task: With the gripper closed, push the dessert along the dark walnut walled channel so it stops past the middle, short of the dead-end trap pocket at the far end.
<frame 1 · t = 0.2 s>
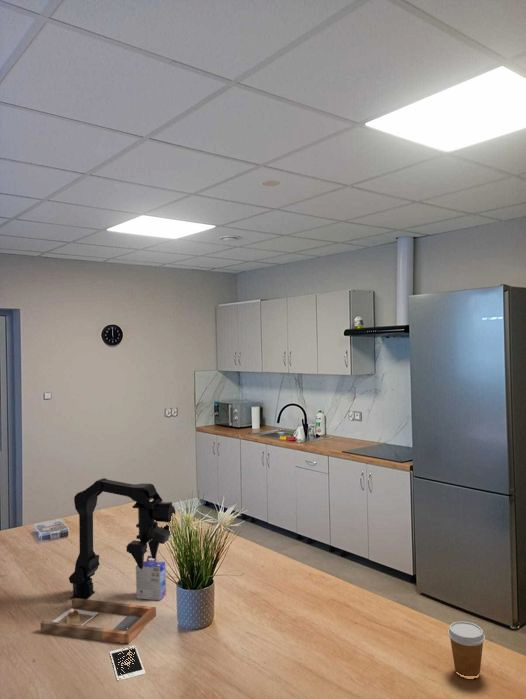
hand: (147, 563, 194), 14 cm above the table, tool pointing down, fingers open, 9 cm apart
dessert: (73, 622, 184), on the table
ink cartridge box: (151, 597, 200), on the table
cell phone: (126, 664, 158), on the table
disposable coffee cup: (467, 673, 148), on the table
walled channel: (99, 623, 181), on the table
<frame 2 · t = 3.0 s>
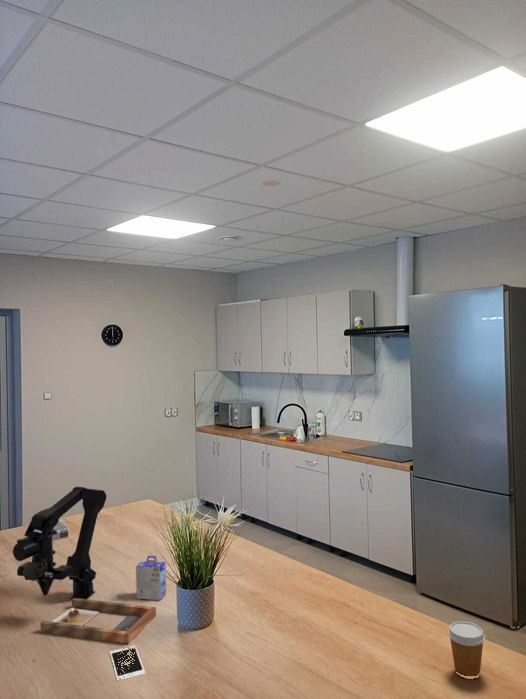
hand: (45, 595, 187), 8 cm above the table, tool pointing down, fingers closed
nothing on the table moved.
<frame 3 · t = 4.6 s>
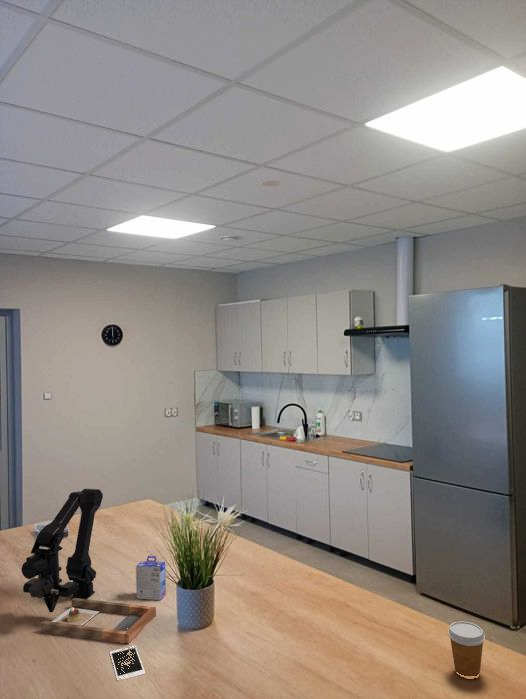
hand: (51, 611, 186), 2 cm above the table, tool pointing down, fingers closed
nothing on the table moved.
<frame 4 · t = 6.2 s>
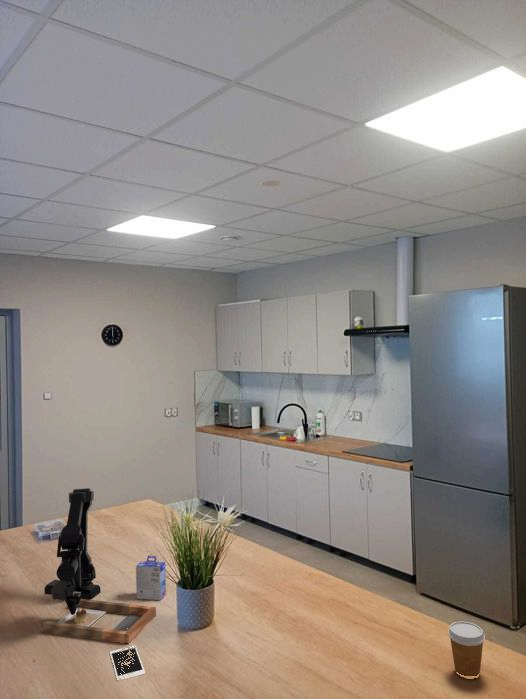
hand: (73, 614, 184), 2 cm above the table, tool pointing down, fingers closed
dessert: (81, 621, 184), on the table, touching gripper
everything else where it was.
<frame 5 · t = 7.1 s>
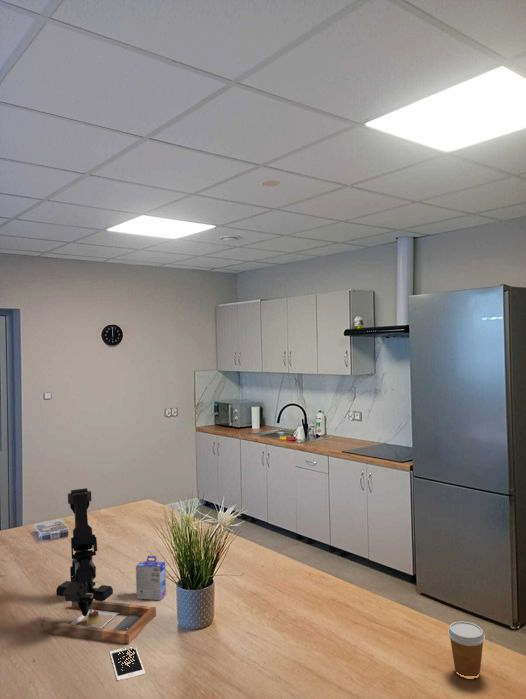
hand: (85, 615, 183), 2 cm above the table, tool pointing down, fingers closed
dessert: (93, 623, 183), on the table, touching gripper
everything else where it was.
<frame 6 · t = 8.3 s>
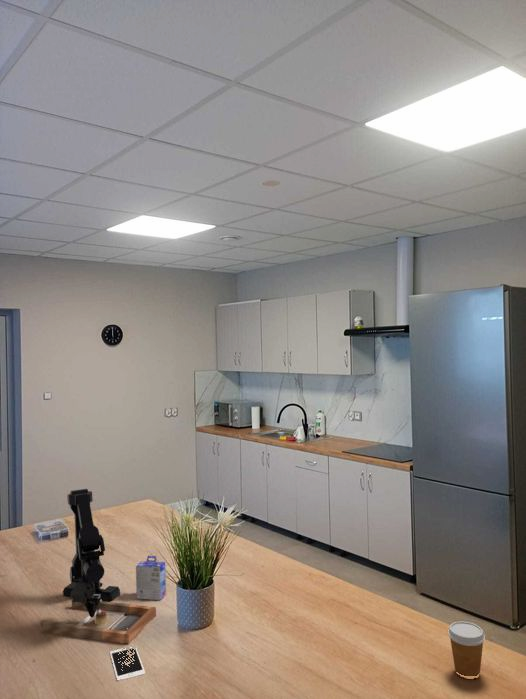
hand: (92, 616, 182), 2 cm above the table, tool pointing down, fingers closed
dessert: (101, 623, 183), on the table
everything else where it was.
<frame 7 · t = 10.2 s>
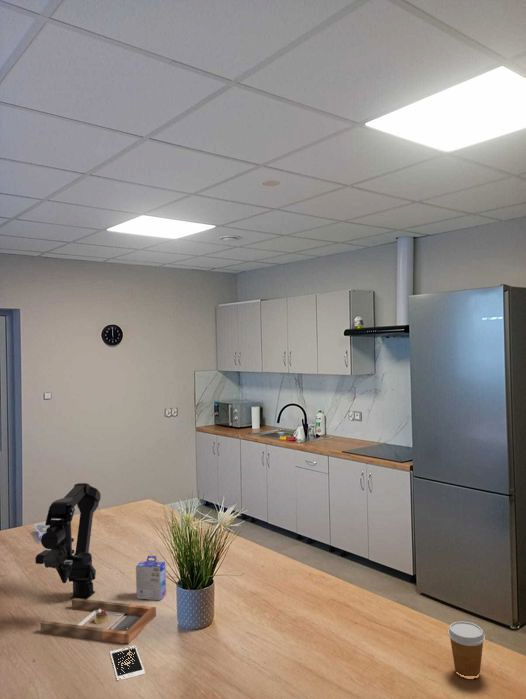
hand: (64, 582, 187), 12 cm above the table, tool pointing down, fingers closed
nothing on the table moved.
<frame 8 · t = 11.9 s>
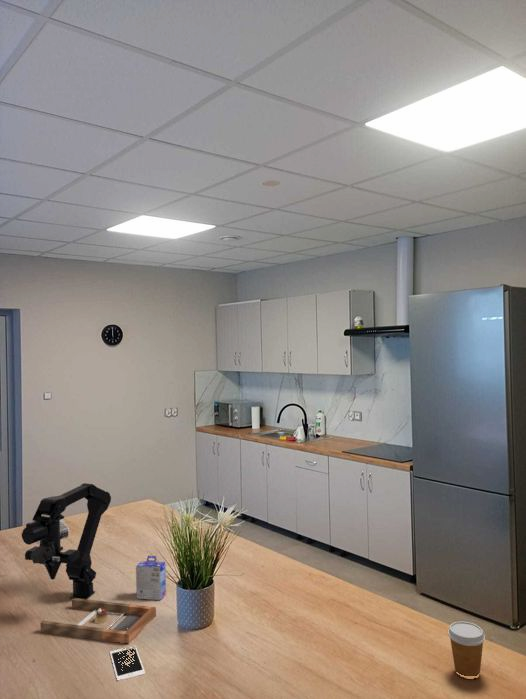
hand: (52, 579, 190), 12 cm above the table, tool pointing down, fingers closed
nothing on the table moved.
at the end: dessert 2.3 cm from the target spot, on the table; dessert moved 9.8 cm from its start; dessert tilted 0° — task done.
